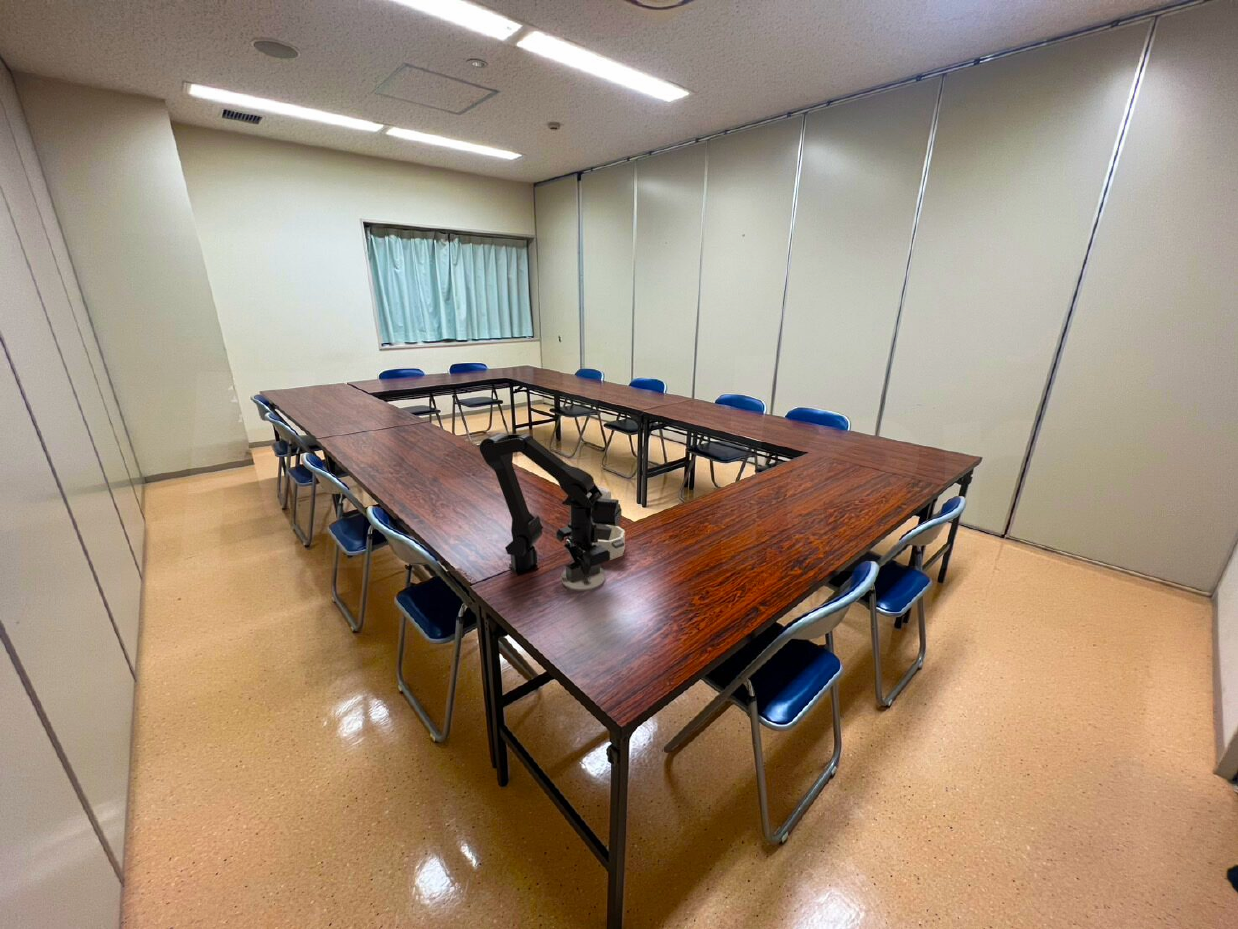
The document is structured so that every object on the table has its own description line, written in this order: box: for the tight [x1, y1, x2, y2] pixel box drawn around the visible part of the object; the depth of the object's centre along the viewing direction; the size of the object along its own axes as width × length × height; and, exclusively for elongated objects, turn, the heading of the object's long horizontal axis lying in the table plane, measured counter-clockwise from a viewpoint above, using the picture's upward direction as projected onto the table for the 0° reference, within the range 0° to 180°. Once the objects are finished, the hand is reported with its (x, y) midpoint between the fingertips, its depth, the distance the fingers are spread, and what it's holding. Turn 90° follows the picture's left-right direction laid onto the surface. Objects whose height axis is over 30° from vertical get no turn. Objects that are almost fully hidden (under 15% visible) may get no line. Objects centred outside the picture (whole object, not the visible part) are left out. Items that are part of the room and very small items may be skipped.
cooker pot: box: [592, 525, 626, 561], centre depth 143 cm, size 11×15×6 cm
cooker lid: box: [560, 561, 606, 592], centre depth 129 cm, size 12×12×5 cm
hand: (583, 571), depth 129 cm, fingers closed on cooker lid, 3 cm apart
